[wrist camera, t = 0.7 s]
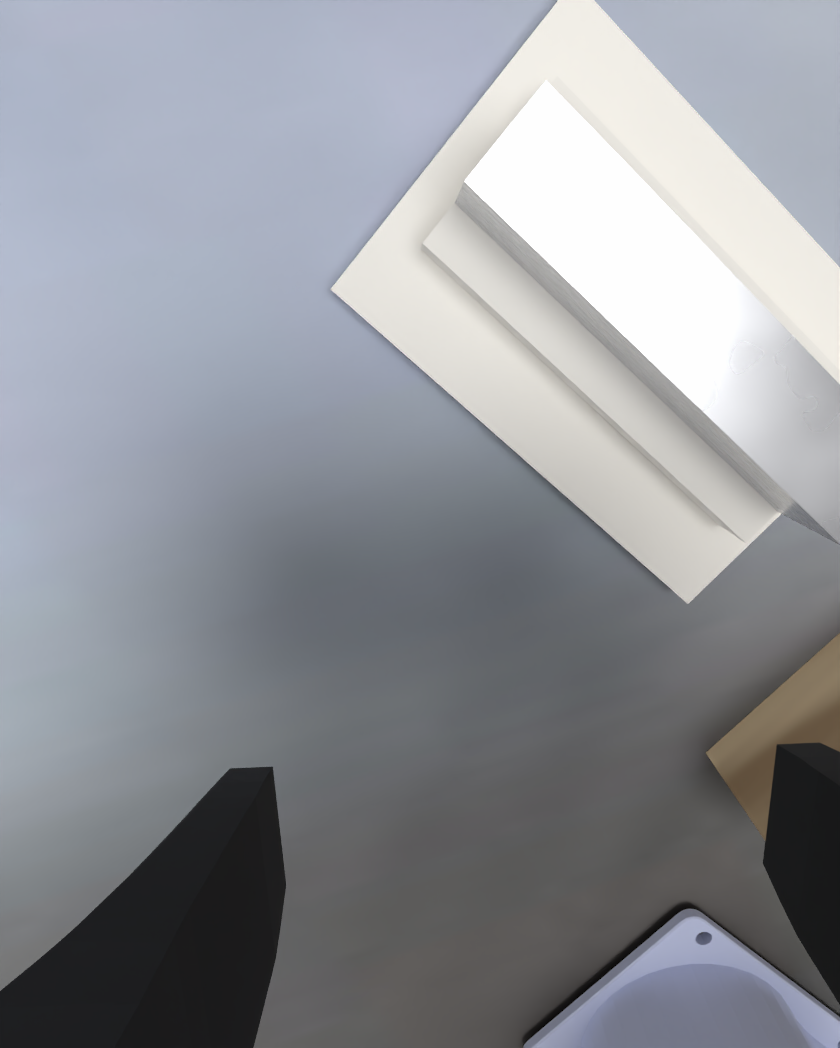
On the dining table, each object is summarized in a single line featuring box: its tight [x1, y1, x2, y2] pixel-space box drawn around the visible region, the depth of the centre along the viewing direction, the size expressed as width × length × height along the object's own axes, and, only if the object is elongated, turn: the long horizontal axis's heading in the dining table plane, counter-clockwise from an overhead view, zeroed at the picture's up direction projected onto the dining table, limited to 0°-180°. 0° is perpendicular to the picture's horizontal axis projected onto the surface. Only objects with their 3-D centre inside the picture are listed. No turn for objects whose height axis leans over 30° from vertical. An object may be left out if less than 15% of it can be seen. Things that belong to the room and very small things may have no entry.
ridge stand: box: [331, 0, 840, 604], centre depth 15 cm, size 12×8×5 cm, turn 49°
